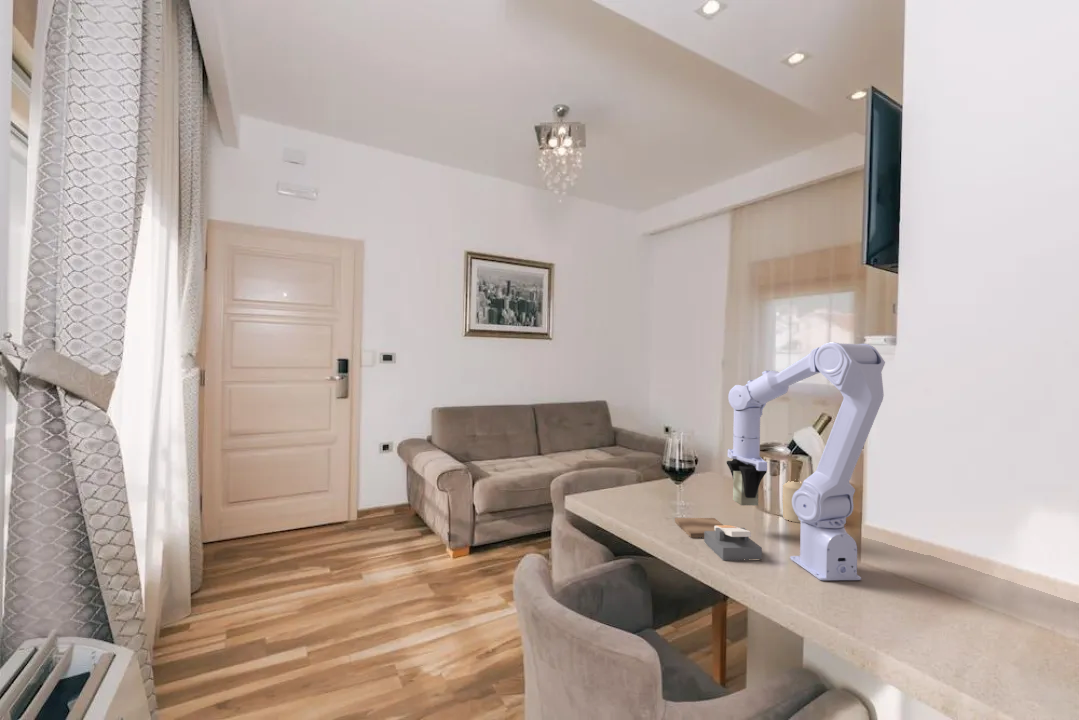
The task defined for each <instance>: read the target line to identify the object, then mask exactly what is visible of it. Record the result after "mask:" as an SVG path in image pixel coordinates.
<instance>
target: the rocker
mask: <svg viewBox="0 0 1079 720" xmlns="http://www.w3.org/2000/svg"><path fill="white" fill-rule="evenodd" d="M716 528H720V529H721V530H723V531H724V534H726V535H728V536H731V537H749V538H750V537H752V532H751V531H750V530H748V531H747V529H746V530H744V529H741V528H742V527H739V526H738V527H737V526H735V525H729V524H728V525H727V524H723V525H716V526H714V529H715V531H716Z"/></svg>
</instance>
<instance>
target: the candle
mask: <svg viewBox="0 0 1079 720" xmlns="http://www.w3.org/2000/svg"><path fill="white" fill-rule="evenodd" d="M784 483H785V482H784ZM784 483H783V484H784ZM783 484H782V503H783V517H784V518H785V519H787V520H786V521H788V520H789V521H788V522H791V521H792V522H791V523H796V524H797V523H798V524H799V523H800V524H801V521H800V520H798V516H797V515H796V513H795V512H794V509H793V506H792V497H793V494H794V493H795V492H796V491H797V490H798V489H800V488H801V486H802V484H803V481H801V480H800V483H799V482H794V481H791V482H790V481H788V482H787V483H785V484H784V485H783ZM783 517H782V518H783ZM784 518H783V519H784ZM785 519H784V520H785Z"/></svg>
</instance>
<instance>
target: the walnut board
mask: <svg viewBox="0 0 1079 720" xmlns="http://www.w3.org/2000/svg"><path fill="white" fill-rule="evenodd" d="M674 523H675V524H676V525H677V526H678V527H679V528H681V531H683V532H684V533H685V532H686V533H685V534H686V535H687V534H688V535H689V536H690V537H691V538H690V537H689V538H690V539H704V531H715V529H714V526H716V525H724V524H723V523H721V522H720V521H719V520H718V519H716V518H714V517H675V518H674ZM698 537H700V538H698ZM701 537H703V538H701Z"/></svg>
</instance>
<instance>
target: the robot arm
mask: <svg viewBox="0 0 1079 720" xmlns="http://www.w3.org/2000/svg"><path fill="white" fill-rule="evenodd" d="M885 365H886V361H885V359H884V358H883V357H882V356H881V353H880V352H879V351H878V350H877V349H876V347H874V346H872V345H871V344H869V343H839V342H835V341H830V342H827V343H826V342H825V343H824V344H822V345H820V346H819V347H815V348H813V349H811V351H810V353H808V354H807V355H805V356H803V357H802V358H800V359H798V360H797V361H795V362H793V363H791V364H790V365H789V366H787V367H786V368H784V369H782V370H781V371H777V370H769V369H768V370H764V371H762V372H761V374H762V375H760V376H759V377H756V378H754V379H749V380H748V381H746V384H745V385H741V384H735V385H734V386H733V387H732V388H730V389H729V392H728V395H727V397H728V399H727V401H728V404H729V405H730V407H731V408H732V409H733V425H732V426H733V428H732V429H733V431H732V434H733V436H732V437H733V438H732V439H733V440H732V443H733V444H732V449H731V448H728V449H727V458H729V459H731V460H727V461H726V465H727V467H728V468H729V471H730V473H731V477H732V478H733V471H741V474H742V477H743V482H744V492H745V496H746V497H747V498H755V497H756V494H757V491H758V492H759V488H758V487H760V485H761V482H762V480H763V478H764V476H765V475H766V474H767V472H768V462H767V461H765V460H764V459H763V458H762V457H761V456H760V455H761V454H760V453H761V452H760V451H761V417H762V416H763V410H764V408H765V406H766V405H767V403H768V402H771V401H773V400H775V399H778V398H780V397H781V396H784V395H785V394H787V393H788V391H789V386H791V385H794V384H796V383H798V382H801V381H804V380H806V379H808V378H810V377H812V376H815V375H818V374H821V375H822V376H823V377H824V378H825V379H826V380H828V382H830V383H831V384H832V385H833V386H834V387H835V388H836V389H837V390H838V391H839V392H840V394H841V395H842V397H843V399H842V401H841V405H840V407H839V410H838V412H837V415H836V418H835V420H834V423H833V426H832V427H831V430H830V433H829V436H828V438H827V441H826V443H825V446H824V449H823V452H822V454H821V456H820V460H819V461H818V464H817V467H816V470H815V471H814V472H813V473H812V474H810V475H809V476H807V477H806V478H805V479H804V480H803V481H802V483H803V484H802V486H801V488H800V489H798V490H797V491H796V492H795V493H794V494H793V497H792V506H793V509H794V512H795V513H796V515H797V516H798V520H800V521H801V523H800V528H799V529H800V530H799V531H800V532H799V533H800V535H799V537H800V538H799V539H800V540H799V541H800V542H799V543H800V544H799V555H790V556H789V559H790V560H791V561H792V562H794V563H795V564H797V565H798V566H800V567H802V568H803V569H804V570H805V571H807V572H808V573H809V574H811V575H813V576H814V577H815V578H816V579H818V580H820V581H862V577H861V576H860V575H858V546H857V545H858V544H857V542H856V540H855V539H854V538H853V537H852V536H851V535H850V534H849V533H848V532H847V531H846V528H845V524H846V523H847V518H848V517H850V516H852V513H853V511H854V494H855V492H856V489H855V487H854V486H853V485H852V484H851V482H850V480H851V477H852V475H853V474H854V470H855V467H856V466H857V464H858V460H859V458H860V456H861V454H862V451H863V449H864V446H865V444H866V441H867V439H868V437H869V434H870V432H871V430H872V427H873V425H874V422H875V420H876V417H877V415H878V413H879V410H880V407H881V405H882V402H884V401H883V400H884V396H885V395H884V385H883V374H882V373H883V369H884V367H885Z"/></svg>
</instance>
